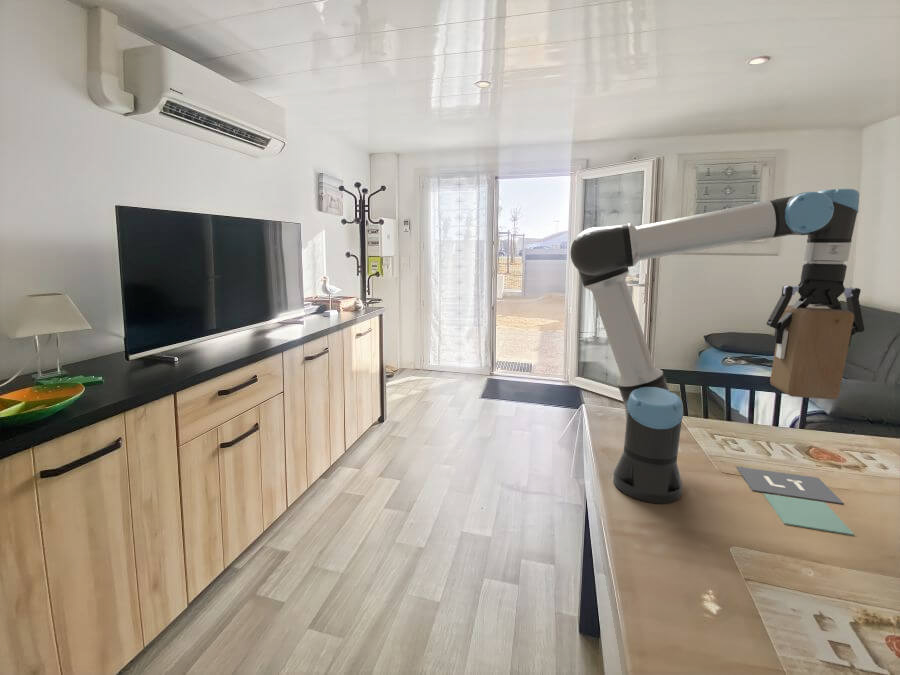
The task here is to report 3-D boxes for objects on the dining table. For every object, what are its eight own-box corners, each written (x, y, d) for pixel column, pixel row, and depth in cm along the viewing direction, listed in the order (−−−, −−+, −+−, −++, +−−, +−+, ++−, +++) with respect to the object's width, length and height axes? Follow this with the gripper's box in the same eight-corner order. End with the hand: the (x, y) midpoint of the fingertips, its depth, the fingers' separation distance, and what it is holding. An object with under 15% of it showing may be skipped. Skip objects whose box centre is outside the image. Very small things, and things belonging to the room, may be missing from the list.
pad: (784, 524, 92) (784, 522, 92) (763, 494, 103) (763, 493, 103) (854, 535, 88) (854, 534, 88) (824, 503, 100) (824, 502, 100)
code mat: (751, 490, 105) (752, 489, 105) (736, 467, 116) (736, 466, 116) (843, 504, 99) (843, 502, 99) (817, 478, 111) (818, 477, 111)
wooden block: (840, 401, 97) (857, 312, 93) (789, 397, 99) (804, 310, 95) (813, 387, 107) (828, 306, 103) (767, 384, 109) (780, 304, 105)
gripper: (771, 262, 97) (756, 359, 101) (900, 264, 90) (878, 368, 95) (759, 261, 104) (745, 352, 108) (878, 263, 97) (859, 359, 102)
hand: (807, 359), depth 101 cm, fingers closed on wooden block, 10 cm apart
